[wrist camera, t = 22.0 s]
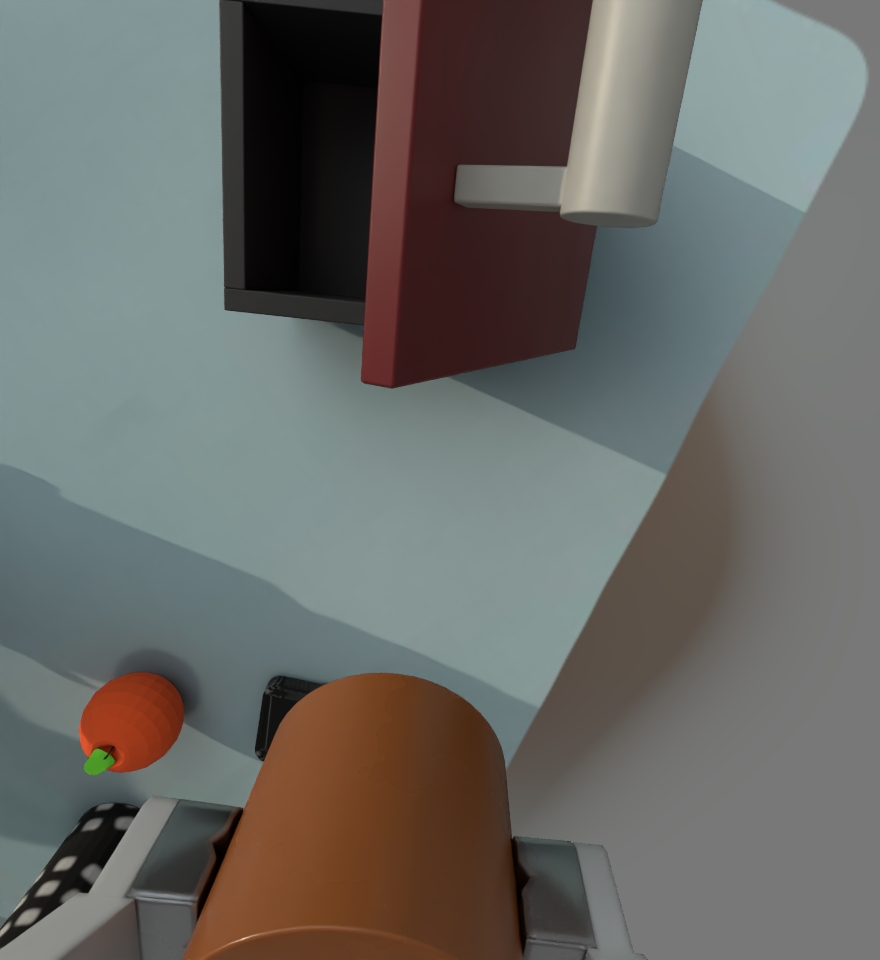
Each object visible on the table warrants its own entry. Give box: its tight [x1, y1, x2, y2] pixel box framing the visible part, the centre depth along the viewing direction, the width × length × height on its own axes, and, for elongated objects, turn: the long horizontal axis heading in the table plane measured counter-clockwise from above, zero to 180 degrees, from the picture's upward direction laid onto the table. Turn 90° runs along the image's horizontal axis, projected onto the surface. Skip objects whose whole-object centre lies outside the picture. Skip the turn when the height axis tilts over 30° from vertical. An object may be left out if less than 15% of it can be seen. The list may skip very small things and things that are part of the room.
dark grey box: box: [219, 0, 383, 325], centre depth 29 cm, size 16×13×10 cm
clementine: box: [79, 672, 184, 775], centre depth 43 cm, size 8×7×7 cm
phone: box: [255, 676, 323, 761], centre depth 46 cm, size 8×1×15 cm
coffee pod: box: [182, 673, 523, 960], centre depth 9 cm, size 5×5×4 cm
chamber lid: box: [361, 0, 703, 388], centre depth 16 cm, size 17×13×5 cm
